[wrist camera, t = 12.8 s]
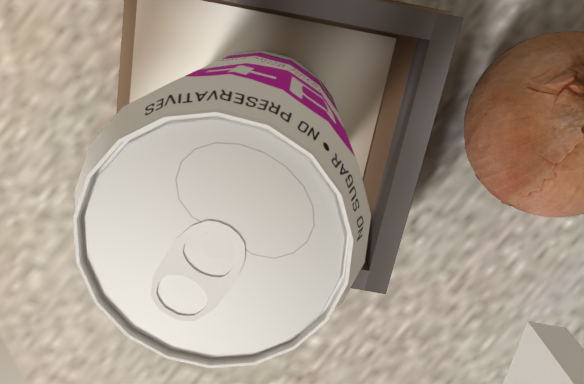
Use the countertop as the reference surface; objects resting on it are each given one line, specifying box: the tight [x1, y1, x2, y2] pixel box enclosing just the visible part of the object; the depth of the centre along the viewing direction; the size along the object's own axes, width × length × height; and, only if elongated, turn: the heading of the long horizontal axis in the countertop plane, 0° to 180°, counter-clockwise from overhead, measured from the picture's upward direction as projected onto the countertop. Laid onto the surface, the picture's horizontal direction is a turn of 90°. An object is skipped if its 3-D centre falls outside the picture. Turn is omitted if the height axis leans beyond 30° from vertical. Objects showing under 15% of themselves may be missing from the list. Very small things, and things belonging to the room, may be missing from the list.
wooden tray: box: [117, 0, 463, 294], centre depth 28 cm, size 16×15×6 cm
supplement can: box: [73, 50, 371, 368], centre depth 20 cm, size 8×8×15 cm
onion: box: [464, 31, 584, 217], centre depth 26 cm, size 10×9×10 cm
